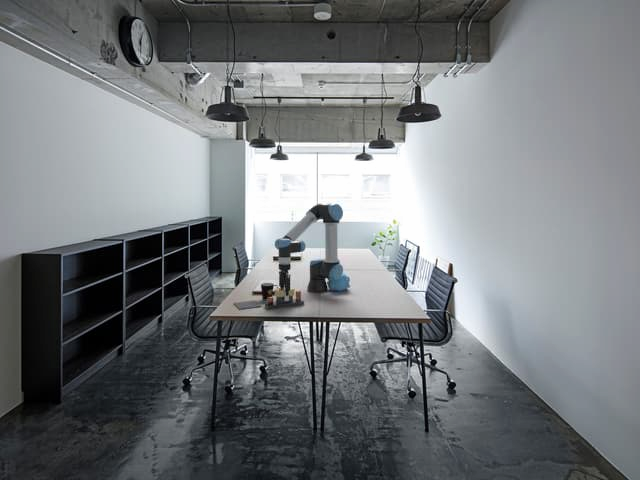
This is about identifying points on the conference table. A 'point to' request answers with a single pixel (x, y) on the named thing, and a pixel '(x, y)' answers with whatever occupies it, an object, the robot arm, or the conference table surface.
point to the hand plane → (284, 302)
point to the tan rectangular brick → (280, 292)
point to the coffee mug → (267, 290)
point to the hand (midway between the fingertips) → (284, 299)
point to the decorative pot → (339, 283)
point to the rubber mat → (247, 305)
